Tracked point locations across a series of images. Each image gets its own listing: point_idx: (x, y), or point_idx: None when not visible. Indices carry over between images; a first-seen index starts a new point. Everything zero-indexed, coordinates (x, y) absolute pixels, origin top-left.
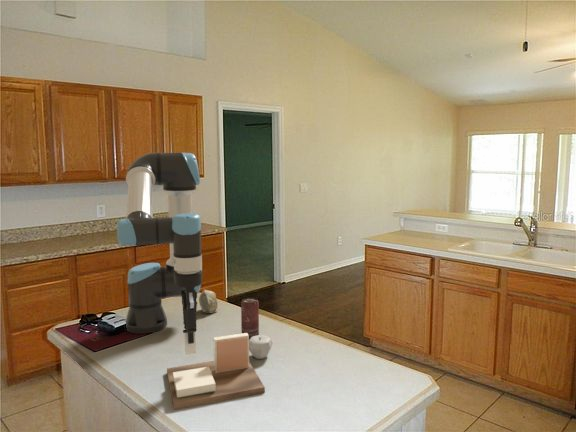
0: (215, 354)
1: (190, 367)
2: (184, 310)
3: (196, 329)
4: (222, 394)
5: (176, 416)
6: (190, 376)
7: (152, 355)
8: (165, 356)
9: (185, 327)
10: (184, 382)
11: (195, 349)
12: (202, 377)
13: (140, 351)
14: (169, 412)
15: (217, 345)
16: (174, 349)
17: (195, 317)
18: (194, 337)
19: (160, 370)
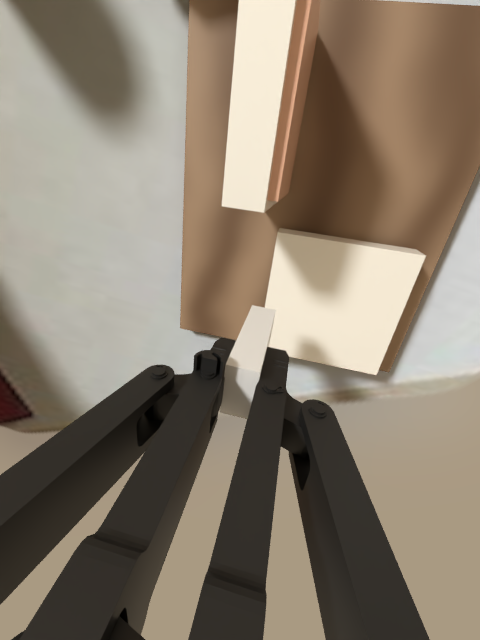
0: (273, 203)
1: (201, 266)
2: (166, 548)
3: (324, 410)
4: (447, 231)
5: (420, 368)
6: (314, 314)
7: (72, 323)
8: (85, 296)
9: (215, 419)
10: (343, 342)
11: (273, 317)
12: (348, 282)
13: (45, 341)
14: (389, 374)
15: (280, 198)
16: (45, 260)
17: (385, 549)
18: (265, 353)
19: (163, 330)
